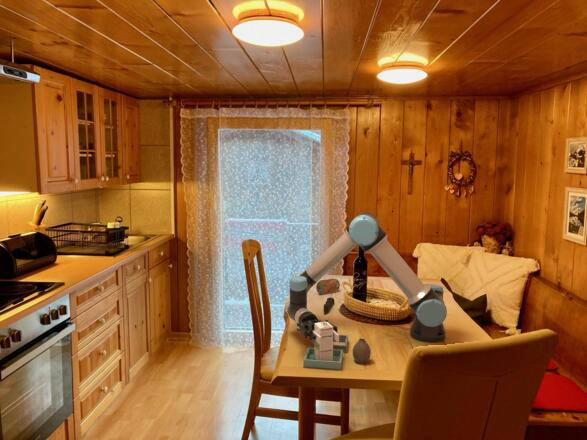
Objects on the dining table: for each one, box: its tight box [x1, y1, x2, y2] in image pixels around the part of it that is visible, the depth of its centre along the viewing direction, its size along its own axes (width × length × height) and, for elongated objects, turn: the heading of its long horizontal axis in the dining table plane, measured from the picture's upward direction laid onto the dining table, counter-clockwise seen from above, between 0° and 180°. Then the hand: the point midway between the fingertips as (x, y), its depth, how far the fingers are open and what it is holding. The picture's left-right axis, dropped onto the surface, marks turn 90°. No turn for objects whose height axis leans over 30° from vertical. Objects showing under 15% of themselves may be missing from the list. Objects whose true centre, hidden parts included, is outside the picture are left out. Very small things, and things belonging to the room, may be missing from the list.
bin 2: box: [302, 347, 344, 371], centre depth 184 cm, size 14×12×3 cm
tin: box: [315, 277, 341, 296], centre depth 277 cm, size 15×3×8 cm, turn 119°
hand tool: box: [323, 297, 335, 315], centre depth 248 cm, size 19×4×5 cm, turn 164°
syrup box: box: [313, 321, 334, 361], centre depth 183 cm, size 6×6×14 cm
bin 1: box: [311, 334, 349, 354], centre depth 200 cm, size 14×12×3 cm
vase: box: [352, 338, 372, 364], centre depth 185 cm, size 7×7×9 cm
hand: (329, 339), depth 178 cm, fingers open, 6 cm apart
